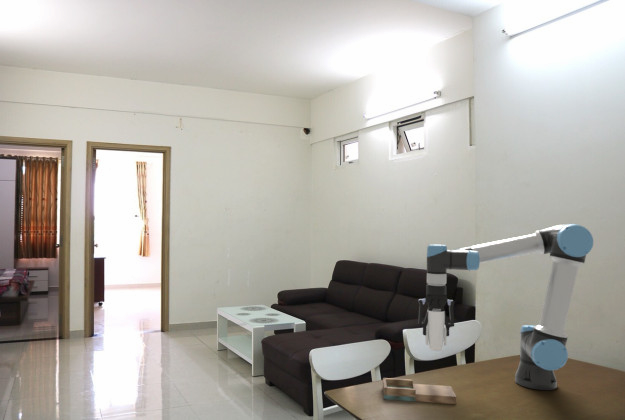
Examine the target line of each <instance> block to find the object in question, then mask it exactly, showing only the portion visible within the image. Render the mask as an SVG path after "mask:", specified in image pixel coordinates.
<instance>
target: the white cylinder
mask: <svg viewBox="0 0 625 420" xmlns="http://www.w3.org/2000/svg"><path fill="white" fill-rule="evenodd" d="M426 310H427V311H426V313H427V312H428V323H427V327H428V349H429V350H431V351H436V352H437V351H438V352H439V351H443V350H444V344H443V337H444V327H445V314H446V310H445V311H443V312H441V310H440V309H437V308H435V309H433V310H432V311H428V309H426Z"/></svg>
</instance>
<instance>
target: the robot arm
mask: <svg viewBox="0 0 625 420" xmlns="http://www.w3.org/2000/svg"><path fill="white" fill-rule="evenodd" d="M593 247H594V237H593V234H592V233H591V232H590V231H589V229H588V228H586V227H585V226H582V225H580V224H577V223H560V224H557V225H556V224H555V225H553V226H551V227H546V228H542V229H539V230H535V231H534V233H532V234H527V235H521V236H517V237H516V236H515V237H511V238H506V239H501V240H495V241H491V242H486V243H481V244H476V245H472V246H466V247H465V246H464V247H456V248H454V249H448V247H447V245H446V244H437V243H435V244H428V245H427V247H426V287H425V288H426V290H425V291H426V292H425V293H426V295H425V297H424V298H418V300H417V302H418V304H419V307H418V316H417V317H418V319H417V324H418V326H420V327H422V335H423V336H425V337H424V338H425V345H426V346H427V345H428V346H429V341H428V327H427V323H428V312H427V311H426V313H425V316H424V318H423V315H424V305H425V303H426V304H427V305H428V306H427V310H428V311H432V310H433V309H440V310H441V312H443V311H445V312H446V310H445V305H446V304H447V305H448V312H449V314H448V315H449V319H448V317H447V314H446V313H445V326H444V337H443V346H447V337H449V336H450V328H454V327H455V316H454V314H455V312H454V307H455V301H454V300H453V299H448V297H447V285H446V284H447V271H448V270H456V271H457V270H458V271H469V272H470V271H477V270H479V268H480V264H483V263H489V262H495V261H499V260H505V259H510V258H515V257H522V256H527V255H533V254H541V255H546V254H549V257H550V259H551V261H552V265H551V269H550V274H549V278H548V283H547V286H546V292H545V297H544V299H543V305H542V308H541V309H542V310H541V315H540V318H539V323H538V324H536V325H532V324H531V325H530V324H525V325H524V324H523V325H522V326H521V327H520V332H519V334H520V341H519V342H520V344H519V345H520V350H519V351H520V352H519V355H520V356H519V364H518V366H517V367H518V368H517V369H516V372H515V374H514V375H515V376H514V381H515V383H516V384H518V385H519V386H521V387H525V388H527V389H531V390H537V391H539V390H540V391H553V390H555V389H557V388H558V385H557V384H558V382H557V381H558V380H557V378H556V375H555V372H554V371H557V370H560V369H561V368H563V367H564V366H565V365H566V363H567V361H568V358H569V354H568V350H567V348H566V346H567V341H568V338H569V336H568V334H567V333H566V331H565V330H566V325H567V321H568V317H569V316H568V315H569V311H570V307H571V303H572V298H573V294H574V289H575V285H576V281H577V277H578V276H577V275H578V271H579V267H582V265H585V262H586V257H587V255H588V254H589V253H590V252H591V250H592V248H593ZM448 320H449V321H448Z"/></svg>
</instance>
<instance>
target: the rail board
mask: <svg viewBox="0 0 625 420" xmlns="http://www.w3.org/2000/svg"><path fill="white" fill-rule="evenodd" d="M382 393H383V400H390V401H392V400H393V401H404V402H405V401H406V402H423V403H436V404H452V405H453V404H454V405H456V404H457V395H456V394H455V392H454V389H453V388H452V386H450V385H441V384H440V385H439V384H437V385H435V384H424V383H423V384H421V383H414V380H413V379H409V378H408V379H407V378H406V379H404V378H394V377H393V378H392V377H391V378H390V377H389V378H388V377H383V378H382Z"/></svg>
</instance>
